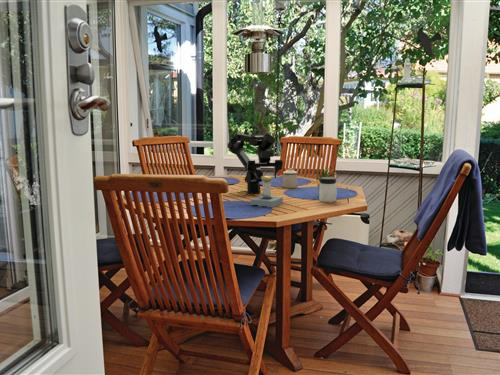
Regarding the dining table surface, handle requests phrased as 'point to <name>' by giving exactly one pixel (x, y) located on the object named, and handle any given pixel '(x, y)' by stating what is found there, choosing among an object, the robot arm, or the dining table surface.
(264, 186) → the pin
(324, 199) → the jar
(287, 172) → the teacup with lid
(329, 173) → the house plant
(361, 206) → the dining table surface
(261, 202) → the socket block
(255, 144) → the robot arm
